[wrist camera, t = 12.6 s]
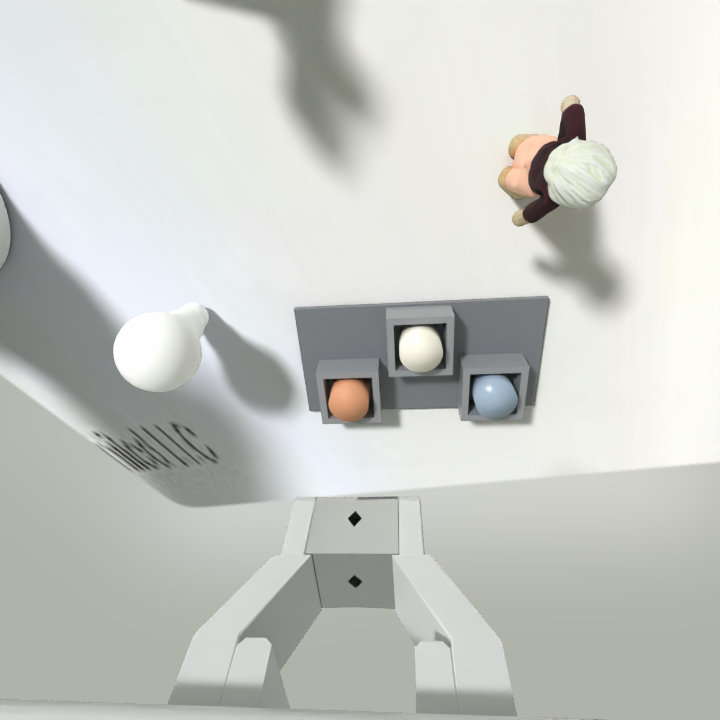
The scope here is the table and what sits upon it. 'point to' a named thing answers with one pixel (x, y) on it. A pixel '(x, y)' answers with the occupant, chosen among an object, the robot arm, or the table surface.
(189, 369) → the lightbulb
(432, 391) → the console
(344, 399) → the rust button
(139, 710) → the robot arm
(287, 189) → the table surface
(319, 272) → the table surface
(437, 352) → the cream button
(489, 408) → the slate button
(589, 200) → the grandmother figurine
